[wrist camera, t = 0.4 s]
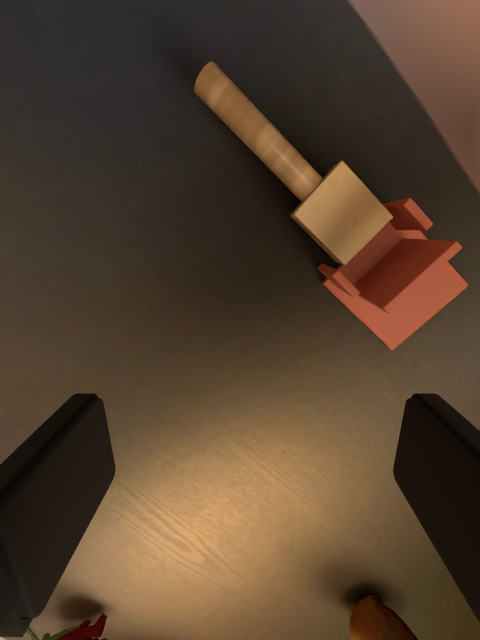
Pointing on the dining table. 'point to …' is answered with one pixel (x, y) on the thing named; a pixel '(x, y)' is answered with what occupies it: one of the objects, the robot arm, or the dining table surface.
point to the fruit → (377, 622)
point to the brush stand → (397, 276)
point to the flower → (77, 631)
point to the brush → (299, 173)
